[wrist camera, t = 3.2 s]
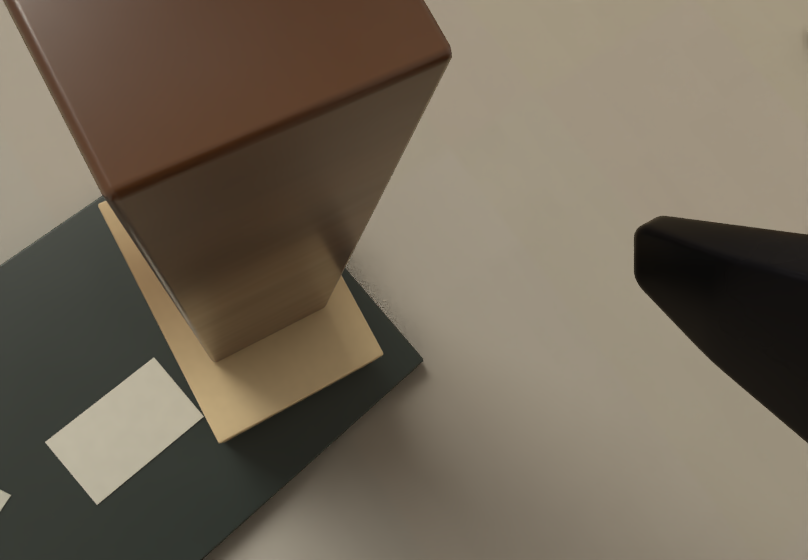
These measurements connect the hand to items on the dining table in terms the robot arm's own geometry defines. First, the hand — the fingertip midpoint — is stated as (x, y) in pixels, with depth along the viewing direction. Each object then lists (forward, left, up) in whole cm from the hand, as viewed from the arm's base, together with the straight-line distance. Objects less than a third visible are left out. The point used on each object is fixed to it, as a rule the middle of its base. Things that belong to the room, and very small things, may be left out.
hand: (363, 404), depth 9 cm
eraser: (+1, -4, -10) cm, 11 cm away
